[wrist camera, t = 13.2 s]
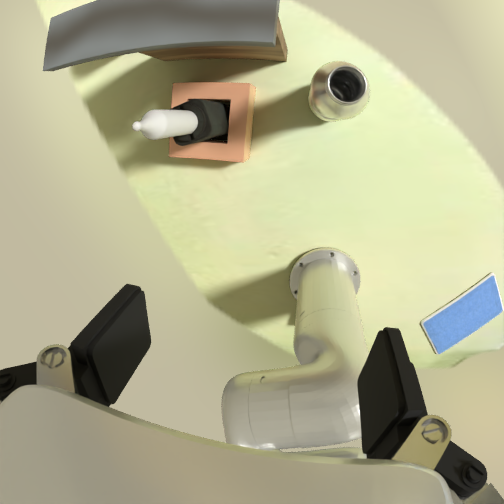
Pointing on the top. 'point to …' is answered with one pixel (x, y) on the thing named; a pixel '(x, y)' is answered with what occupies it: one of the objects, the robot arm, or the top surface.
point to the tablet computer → (464, 315)
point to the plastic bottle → (338, 91)
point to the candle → (186, 122)
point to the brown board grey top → (166, 31)
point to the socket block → (238, 120)
